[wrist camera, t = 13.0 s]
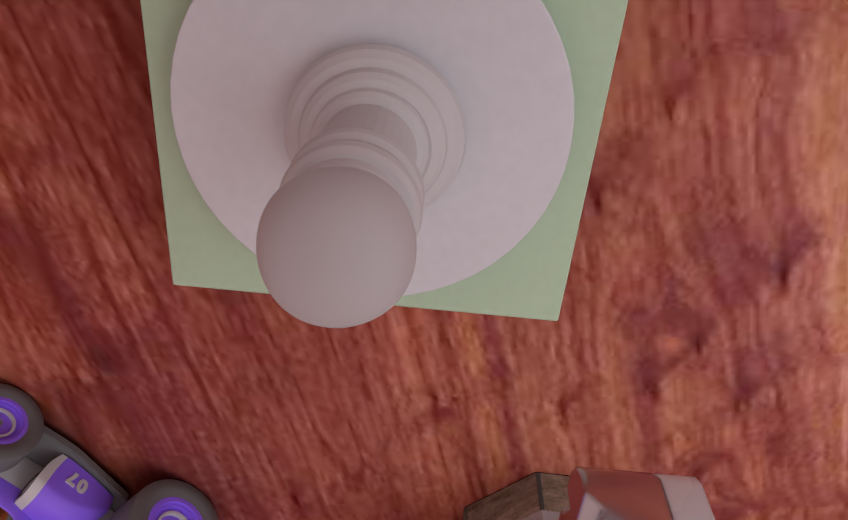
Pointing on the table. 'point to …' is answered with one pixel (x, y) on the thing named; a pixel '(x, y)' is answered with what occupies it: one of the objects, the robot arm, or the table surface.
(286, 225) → the chess piece
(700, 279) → the table surface
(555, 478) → the mug
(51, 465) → the toy race car
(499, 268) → the scale
